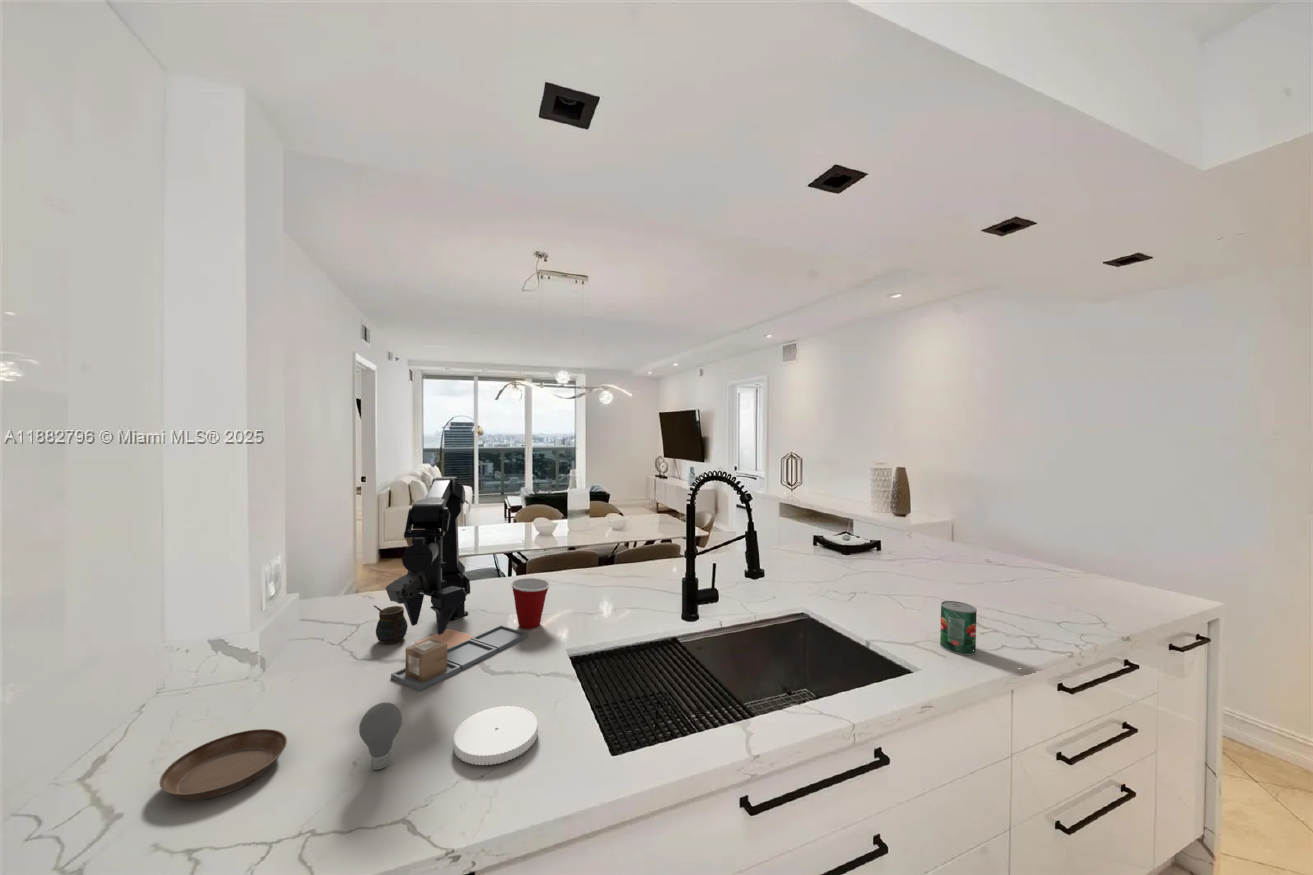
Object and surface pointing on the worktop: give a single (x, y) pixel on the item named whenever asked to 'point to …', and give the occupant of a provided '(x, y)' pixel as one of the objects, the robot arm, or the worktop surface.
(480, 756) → the plastic lid
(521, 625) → the plastic cup
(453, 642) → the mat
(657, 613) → the worktop surface
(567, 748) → the worktop surface
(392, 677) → the tray
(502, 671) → the worktop surface
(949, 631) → the canned tomato
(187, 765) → the saucer
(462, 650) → the tray
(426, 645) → the cardboard box
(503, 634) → the tray
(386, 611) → the mate gourd
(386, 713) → the light bulb
